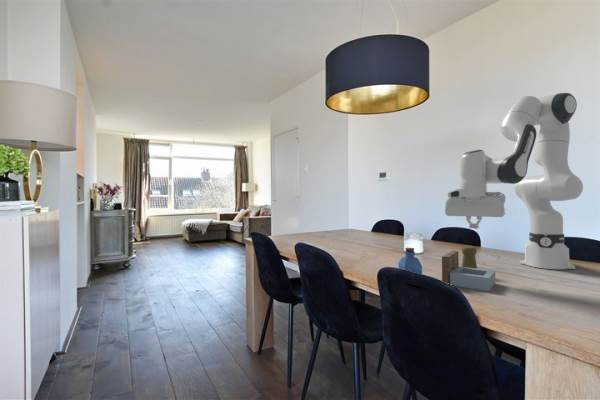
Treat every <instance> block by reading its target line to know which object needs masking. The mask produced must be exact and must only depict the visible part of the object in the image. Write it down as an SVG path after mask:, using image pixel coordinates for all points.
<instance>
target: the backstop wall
mask: <svg viewBox="0 0 600 400" xmlns="http://www.w3.org/2000/svg"><path fill="white" fill-rule="evenodd" d="M459 263H460V261H459V250H451V251H449V252H447V253H446V254H444V255H442V256H441V282H442V281H443V282H446V283H449V284H450V272H451V271H453V270H454V269H456V268H457V267H458V266H459ZM459 267H460V266H459Z"/></svg>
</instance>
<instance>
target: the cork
mask: <svg viewBox="0 0 600 400" xmlns="http://www.w3.org/2000/svg"><path fill="white" fill-rule="evenodd" d="M477 251H478V250H477V247H475V246H472V245H464V246H462V248H461V252H462V255H463V256H462V262H461V263H462V264H461V267H468V268H476V269H478V265H477V260H476V255H477V253H478V252H477Z"/></svg>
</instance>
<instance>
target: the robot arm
mask: <svg viewBox="0 0 600 400" xmlns="http://www.w3.org/2000/svg"><path fill="white" fill-rule="evenodd" d="M577 106H578V105H577V99H576V98H575V96H574V95H573V94H572V93H569V92H558V93H556V94H552V95H551V94H550V95H547V96H541V97H539V98H538V97H536V96H533V95H525V96H522V97H520V98H518V99H517V100H516V101H515V102H514V103H513V105H512V106H511V107H510V108H509V109H508V111H507V112H506V114H505V115H504V117H503V119H502V121H501V123H500V127H499V128H500V132H501V134H502V135H503V137H504V138H506V139H507V140H508V141H511V142H515V145H514V147H513V149H512V153H511V154H509V155H507V156H504V157H498V158H492V157H490V156H488V155H487V154H486V153H485V151H484V150H483V149H475V150H470V151H466V152H464V153H463V154H462V155H461V157H460V158H461V159H460V165H459V166H460V168H459V169H460V173H459V175H460V177H461V180H460V181H461V182H460V188H458V189H454V190H452V191H449V192H447V197H448V198H447V199H446V201H445V209H444V213H445V215H446V217H465V220H466V222H467V223H468V225H469V229H479V227H480V226H479V224H480V223H481V222H482V220H483V217H485V218H488V217H489V218H502V217H504V216H505V215H506V211H505V210H506V209H505V203H506V195H505V194H504V193H502V192H500V191H495V192H494V191H488V189H487V188H488V187H487V186H488V184H510V185H511V184H512V185H513V184H514V192H515V193H514V194H516V196H517V197H518V198H519V199H520V200H521V201H523V203H524V204H525V206H526V208H527V211H528V213H529V219H530V220H529V221H530V224H529V225H530V232H529V234H528V238H529V242H528V243H526V244H525V246H524V259H522V260H520V261H519V264H522V265H526V266H528V267H534V268H538V269H539V268H540V269H548V270H576V266H575V264H572V263H571V262H570V248H569V247H568V246H567V245H565V238H566V237H565V234H564V217H563V215H562V213H560V212H559V211H558V210H556V209H555V208H554V207H553V206H552V203H551V202H564V201H572V200H576V199H578V198H579V197H580V196H581V194H582V193H583V189H584V184H583V181H582V180H581V179H580V177H578V176H577V175H575V174H574V173H573V172H572V170H571V169H570V166H569V162H568V160H569V159H568V157H569V156H568V155H569V146H570V140H571V139H570V136H571V130H570V123H569V121H570V120H571V119H572V117H574V114H575V112H576V110H577ZM535 126H540V128H539V131H538V132H537V130H536V127H535ZM537 133H538V135H537ZM536 139H537V140H536ZM535 142H536V145H535ZM534 146H535V153H534V161H535V164H537V165H538V166H540V167H542V168H543V172H544V173H543V175H542V174H541V175H530V176H527V177H526V175H527V173H528V166H529V161H530V157H531V154H532V152H533V149H534ZM472 217H476V220H477V221H476V222H474V223H473V222H472V221H471V219H472Z"/></svg>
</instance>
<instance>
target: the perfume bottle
mask: <svg viewBox="0 0 600 400" xmlns="http://www.w3.org/2000/svg"><path fill="white" fill-rule="evenodd" d="M404 249H405V251H404V254H405V256H402V257H401V258H400V260H399V261H398V270H399V269H403V270H407V271H411V272H415V273H419V274H422V275H423V265H422V263H421V261H420V260H419V259H418V257H416V256H415V254H416V252H415V247H405V248H404Z"/></svg>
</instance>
